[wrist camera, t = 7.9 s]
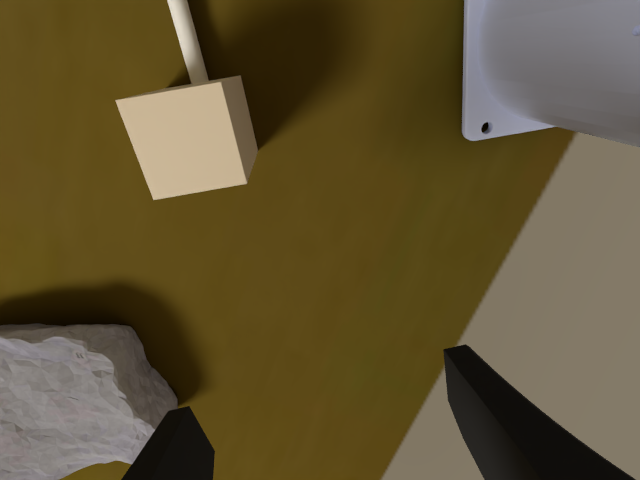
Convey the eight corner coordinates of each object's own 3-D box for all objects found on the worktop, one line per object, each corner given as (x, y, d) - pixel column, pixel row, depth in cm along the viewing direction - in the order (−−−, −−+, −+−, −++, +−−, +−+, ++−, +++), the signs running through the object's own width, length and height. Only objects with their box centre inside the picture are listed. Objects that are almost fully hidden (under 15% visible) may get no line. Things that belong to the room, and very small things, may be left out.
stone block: (-57, 320, 22) (17, 453, 24) (-153, 368, 17) (-48, 525, 20) (137, 272, 22) (191, 409, 24) (95, 306, 17) (167, 471, 20)
